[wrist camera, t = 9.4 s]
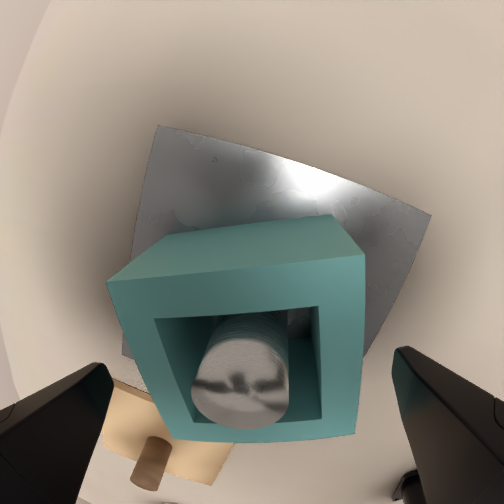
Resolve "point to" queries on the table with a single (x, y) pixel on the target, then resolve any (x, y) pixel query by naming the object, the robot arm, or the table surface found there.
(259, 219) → the silver peg base
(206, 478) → the stand
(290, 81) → the table surface
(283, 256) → the collar
